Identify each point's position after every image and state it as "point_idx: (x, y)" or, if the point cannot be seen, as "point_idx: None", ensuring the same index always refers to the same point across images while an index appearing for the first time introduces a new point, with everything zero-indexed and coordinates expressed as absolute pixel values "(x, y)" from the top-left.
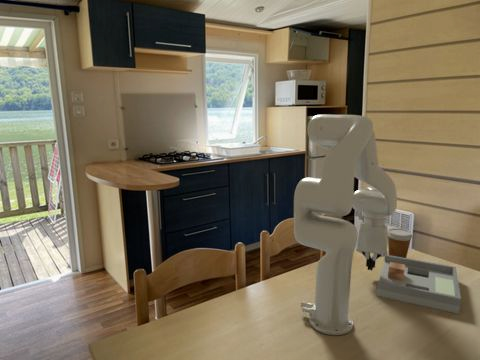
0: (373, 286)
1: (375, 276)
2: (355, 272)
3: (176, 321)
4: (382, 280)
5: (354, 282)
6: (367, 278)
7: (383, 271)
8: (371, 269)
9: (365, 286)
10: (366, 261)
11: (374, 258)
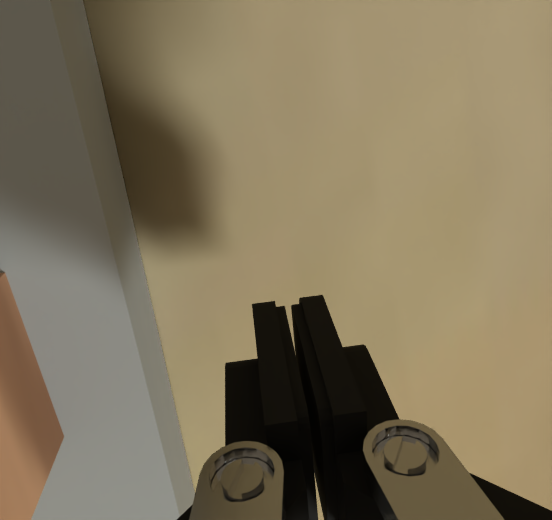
0: (167, 70)
1: (226, 347)
2: (446, 319)
3: None
4: (30, 134)
5: (423, 43)
6: (294, 252)
7: (131, 415)
8: (261, 307)
9: (262, 2)
10: (387, 398)
11: (237, 492)
